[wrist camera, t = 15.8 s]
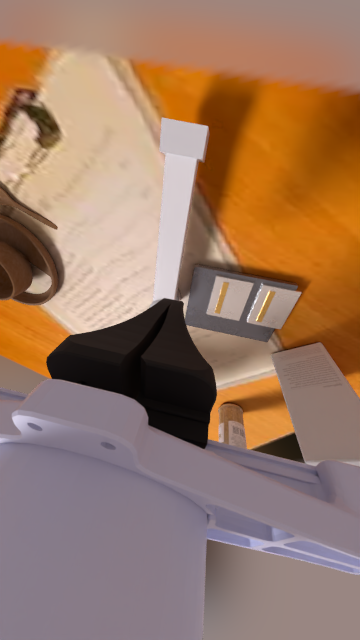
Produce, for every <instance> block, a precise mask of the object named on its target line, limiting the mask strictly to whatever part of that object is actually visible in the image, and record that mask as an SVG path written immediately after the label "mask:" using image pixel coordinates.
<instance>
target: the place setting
mask: <svg viewBox="0 0 360 640" xmlns="http://www.w3.org/2000/svg"><path fill="white" fill-rule="evenodd" d="M0 204H1V205H5V206H14V207H16V208H18V209H20V210H22V211H23V212H25V213H27V214H29V215H30V216H32V217H34V218H35V219H37V220H39V221H41V222H42V223H44V224H46V225H48V226H50V227H52V228H54V229H56V230H57V226H56V225H55V224H53V223H52V222H50V221H49V220H47V219H45V218H43V217H42V216H40V215H38V214H36V213H34V212H32V211H30V210H28V209H26V208H25V207H23V206H21V205H19V204H18V203H16V202H15V201H14V200H13V199H12V198H11V197H10V195H9V194H8V193H7V192H6V191H5V190H3V189H2V188H1V187H0ZM29 262H30V263H32V264H33V265H35V266H36V267H37V268H39V269H40V270H42V271H43V272H45V273H46V274H48V275H49V276H50V277H51V279H52V285H51V287H50V288H49V290H48V291H46V292H45V293H42V294H30V293H26V292H24V291H25V290H27V289H28V288H29V287H30V285H31V283H32V279H33V277H32V271H31V265H30V263H29ZM57 286H58V276H57V271H56V268H55V265H54V262H53V260H52V258H51V256H50V255H49V253H48V251H47V250H46V248H45V247H44V246H43V245H42V243H41V242H40V241H39V240H38V239H37V238H36V237H35V236H34V235H33V234H32V233H31V232H30V231H29V230H28V229H26V228H25V227H24V226H22V225H21V224H19V223H18V222H16V221H14V220H12V219H11V218H9V217H6V216H4V215H1V214H0V300H9V299H12V300H15V301H17V302H20V303H23V304H27V305H41V304H44V303H46V302H47V301H49V300H50V299H51V298H52V297H53V296H54V294H55V292H56V290H57Z"/></svg>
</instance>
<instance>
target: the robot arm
mask: <svg viewBox="0 0 360 640" xmlns="http://www.w3.org/2000/svg"><path fill="white" fill-rule="evenodd" d="M183 305H184V303H183V302H182V301H177V300H172V299H168V298H163V299H162V300H160V301H159V302H158V303H156V304H155V305H153V306H152V307H150V308H149V309H147V310H146V311H144V312H143V313H141V314H139V315H138V316H136V317H134V318H132V319H129V320H127V321H125V322H122V323H120V324H117V325H114V326H111V327H108V328H104V329H101V330H96V331H92V332H87V333H81V334H75V335H70V336H69V337H67V338H66V339H65V340H64V341H63V342H62V343H61V344H60V345H59V346H58V347H57V348H56V349H55V350H54V351H53V352H52V353H51V354H50V355H49V356H48V357H47V361H46V363H47V367H48V370H49V373H50V375H51V377H52V379H46V380H44V381H43V382H41V383H39V384H38V386H37V387H36V388H35V389H34V390H33V391H32V392H31V393H30V394H25V393H21V392H17V391H14V390H9V389H6V388H1V387H0V640H203V618H204V594H205V568H206V567H205V566H206V541H207V539H210V540H214V541H219V542H224V543H227V544H232V545H236V546H241V547H245V548H249V549H254V550H258V551H263V552H267V553H272V554H276V555H280V556H285V557H289V558H293V559H298V560H302V561H306V562H310V563H313V564H317V565H321V566H325V567H329V568H333V569H336V570H340V571H343V572H347V573H351V574H354V575H360V467H359V466H355V465H351V464H347V463H343V462H339V461H335V460H324V461H321V462H320V463H319V464H318V465H317V466H312V465H308V464H304V463H299V462H296V461H292V460H288V459H284V458H280V457H276V456H272V455H268V454H264V453H260V452H256V451H252V450H248V449H244V448H240V447H236V446H232V445H228V444H224V443H220V442H216V441H212V440H208V424H209V423H210V412H211V410H212V407H213V405H214V403H215V401H216V396H217V390H216V382H215V377H214V373H213V369H212V367H211V366H210V365H209V364H208V363H207V362H206V360H205V359H204V358H203V357H202V355H201V354H200V353H199V351H198V349H197V348H196V346H195V345H194V343H193V341H192V339H191V337H190V335H189V332H188V329H187V326H186V323H185V319H184V314H183Z"/></svg>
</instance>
